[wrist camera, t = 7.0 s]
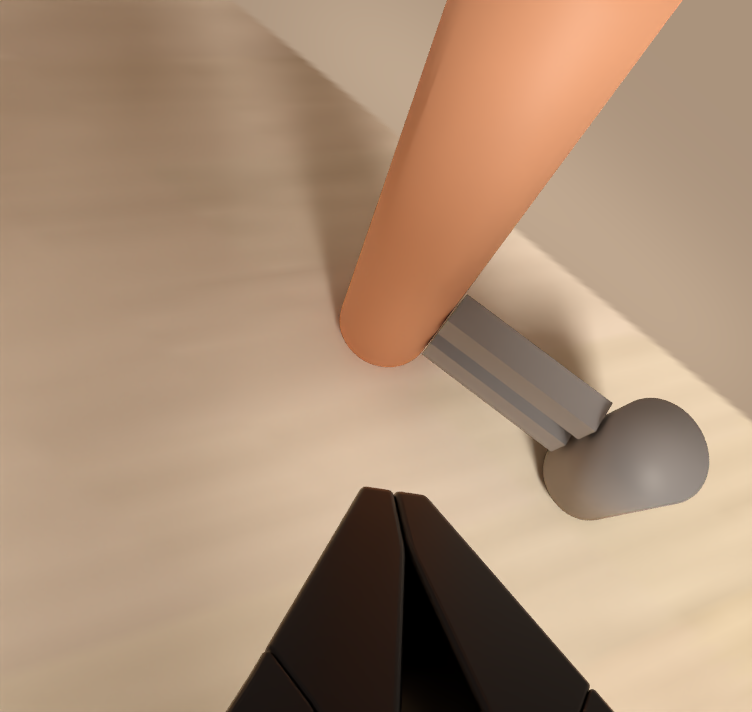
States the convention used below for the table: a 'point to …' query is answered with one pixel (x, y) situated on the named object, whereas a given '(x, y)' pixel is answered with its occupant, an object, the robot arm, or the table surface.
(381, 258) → the orange grey t-shaped piece
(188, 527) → the table surface
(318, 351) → the table surface
